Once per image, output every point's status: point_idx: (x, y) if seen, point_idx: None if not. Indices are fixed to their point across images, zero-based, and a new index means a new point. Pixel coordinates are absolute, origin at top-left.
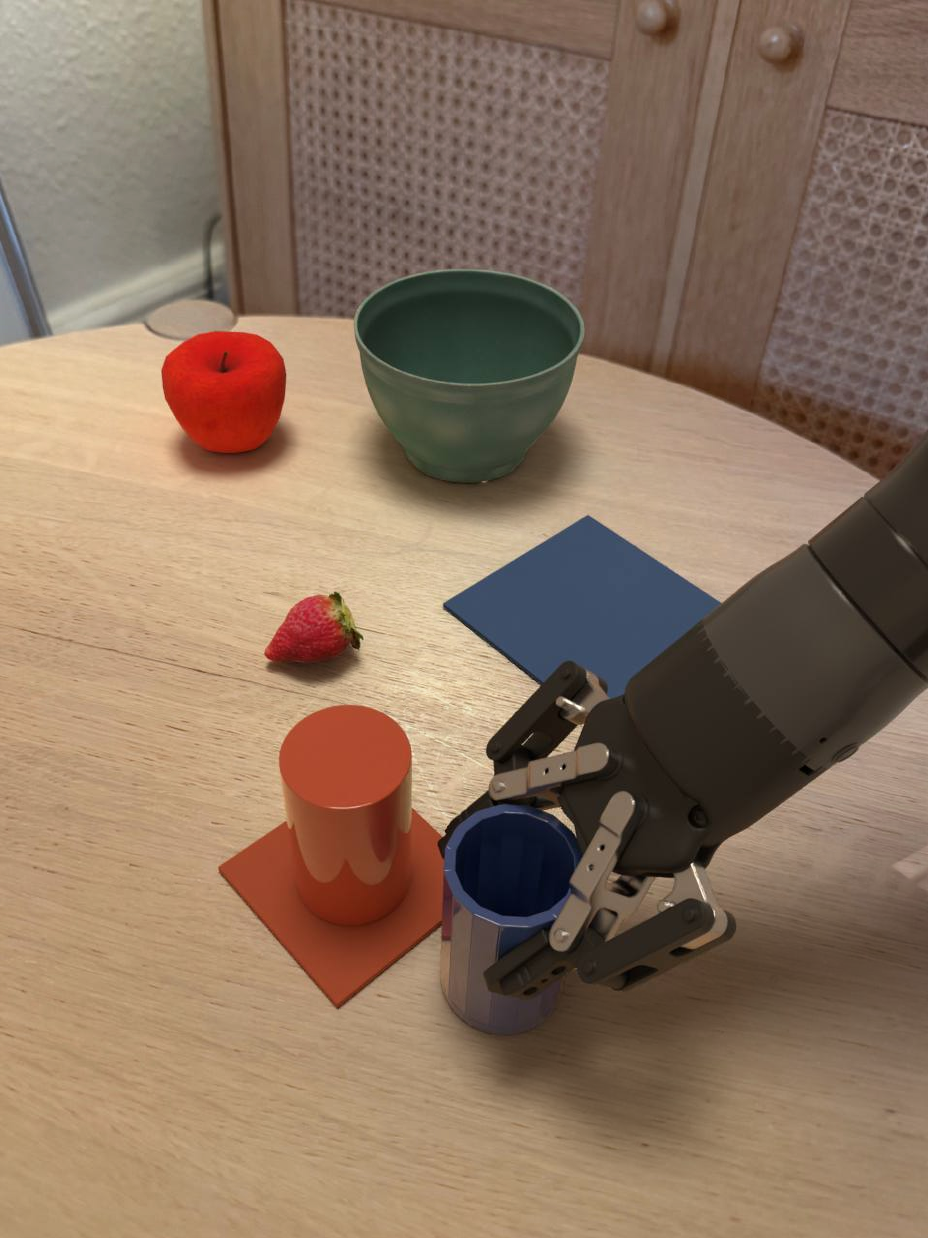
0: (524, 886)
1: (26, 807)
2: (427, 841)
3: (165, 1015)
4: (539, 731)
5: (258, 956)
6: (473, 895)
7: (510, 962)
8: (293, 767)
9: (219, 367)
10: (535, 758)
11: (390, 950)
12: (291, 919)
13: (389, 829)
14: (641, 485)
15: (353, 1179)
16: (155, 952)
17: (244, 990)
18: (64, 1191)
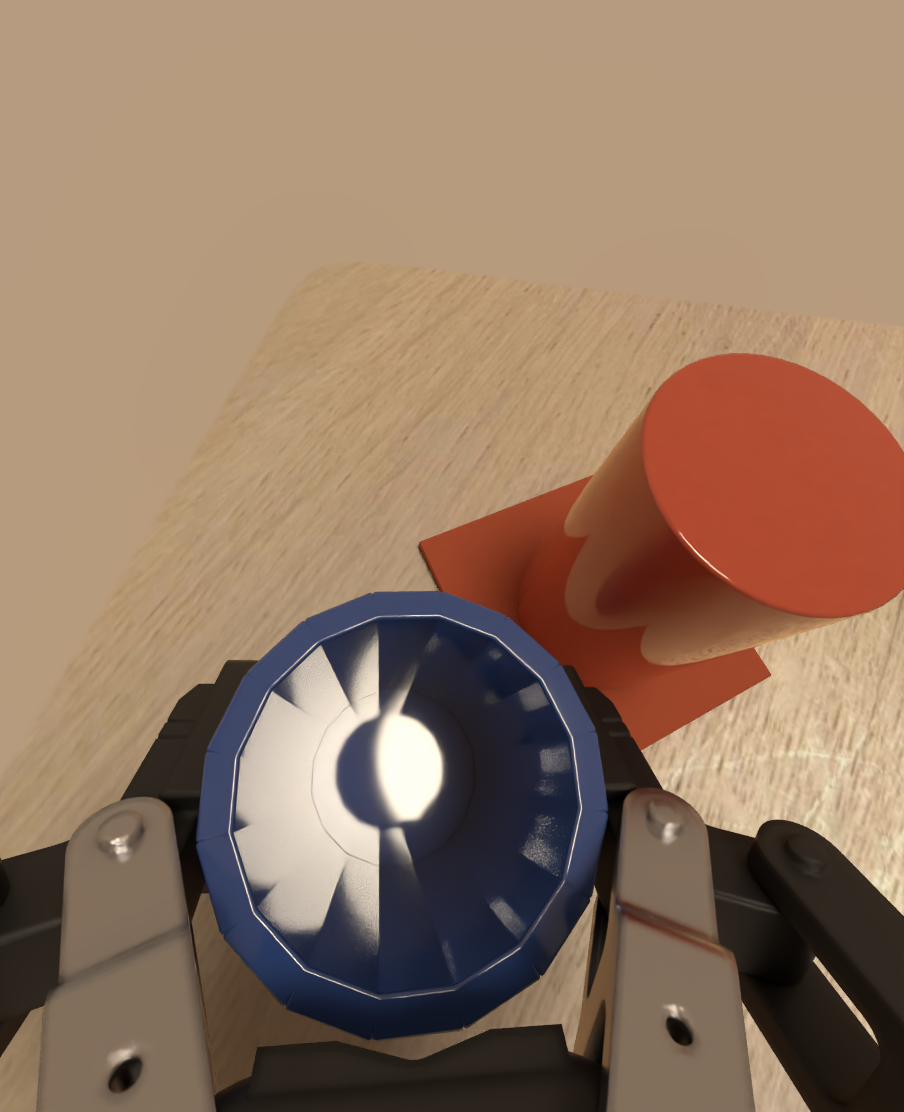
0: (478, 843)
1: (730, 317)
2: (631, 725)
3: (466, 386)
4: (882, 1064)
5: (509, 481)
6: (488, 739)
7: (219, 703)
8: (756, 373)
9: None
10: (762, 991)
11: None
12: (545, 519)
13: (610, 572)
14: None
15: (217, 512)
16: (539, 391)
17: (472, 459)
18: (326, 290)
